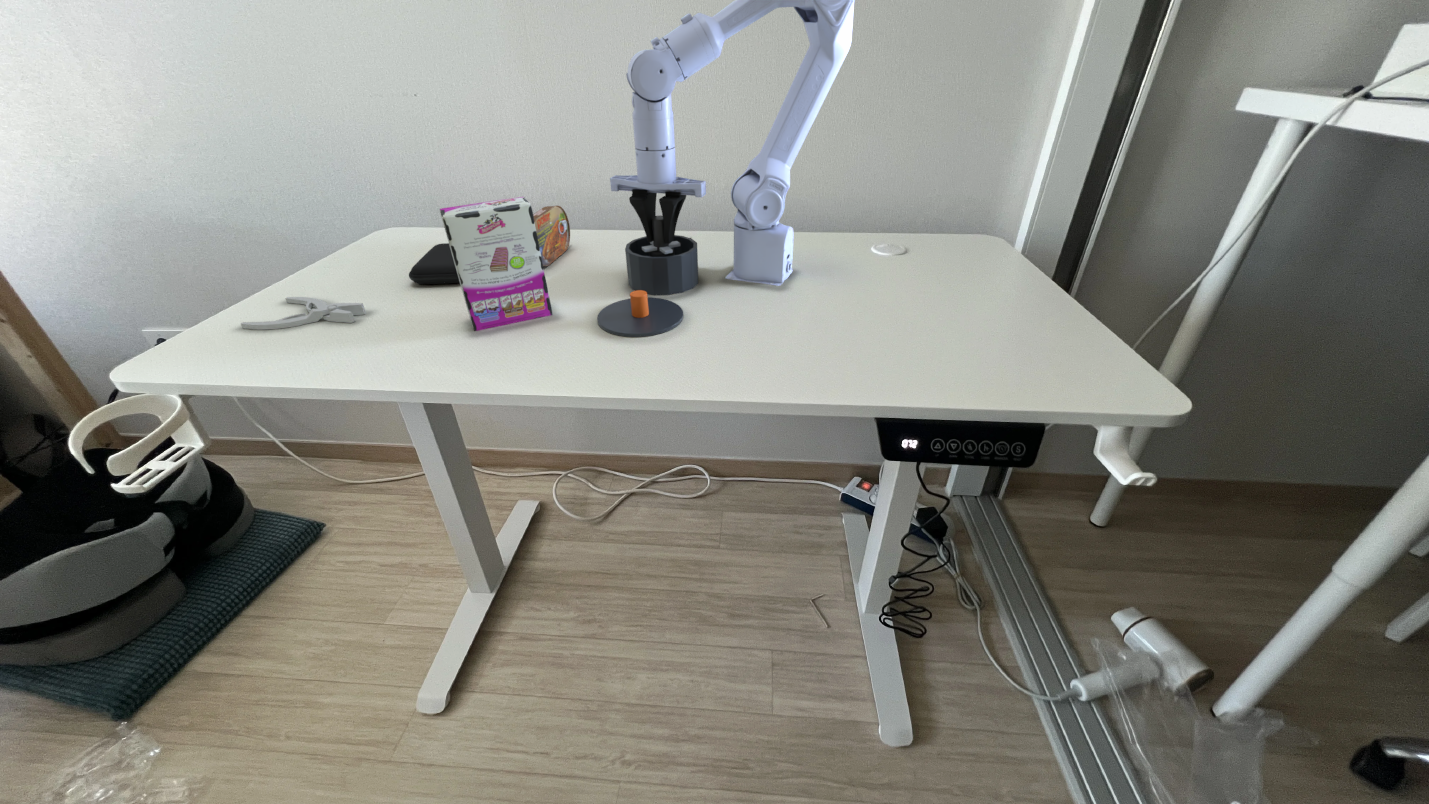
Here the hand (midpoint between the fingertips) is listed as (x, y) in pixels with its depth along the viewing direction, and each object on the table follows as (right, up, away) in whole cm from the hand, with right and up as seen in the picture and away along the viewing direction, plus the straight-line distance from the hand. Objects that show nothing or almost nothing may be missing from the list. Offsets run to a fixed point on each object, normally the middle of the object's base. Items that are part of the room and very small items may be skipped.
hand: (661, 240), depth 91 cm
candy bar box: (-21, -13, -6) cm, 26 cm away
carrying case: (-37, -2, +11) cm, 38 cm away
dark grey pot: (0, -6, +4) cm, 7 cm away
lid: (-2, -13, -8) cm, 15 cm away
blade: (0, -2, +1) cm, 2 cm away
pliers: (-51, -13, -4) cm, 53 cm away
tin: (-22, +1, +15) cm, 27 cm away
